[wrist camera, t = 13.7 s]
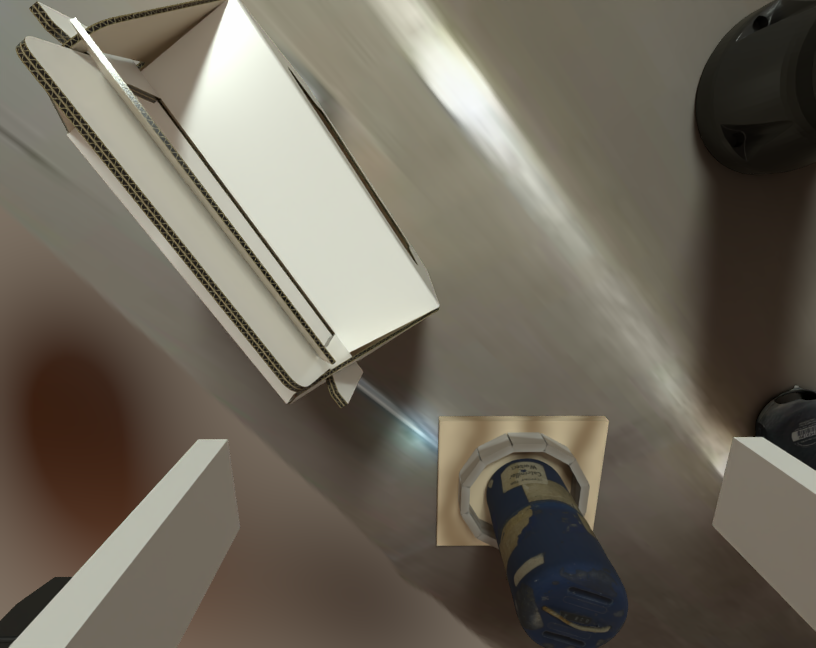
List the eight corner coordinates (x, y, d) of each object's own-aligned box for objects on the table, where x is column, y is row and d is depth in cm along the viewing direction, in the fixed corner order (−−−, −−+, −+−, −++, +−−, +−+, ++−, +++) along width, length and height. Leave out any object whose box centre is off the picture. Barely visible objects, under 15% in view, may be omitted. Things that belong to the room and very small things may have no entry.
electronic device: (827, 465, 53) (827, 375, 47) (867, 500, 48) (873, 405, 42) (748, 482, 55) (739, 398, 49) (779, 518, 50) (773, 429, 44)
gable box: (429, 273, 44) (465, 371, 17) (331, 336, 46) (226, 515, 19) (305, 82, 39) (80, -206, 12) (202, 162, 41) (-193, 69, 14)
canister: (526, 530, 52) (587, 690, 34) (467, 494, 50) (500, 643, 33) (575, 477, 50) (666, 619, 32) (515, 438, 48) (577, 566, 31)
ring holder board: (604, 415, 49) (619, 432, 45) (586, 537, 54) (599, 560, 50) (438, 416, 49) (441, 432, 45) (436, 538, 53) (438, 561, 50)
